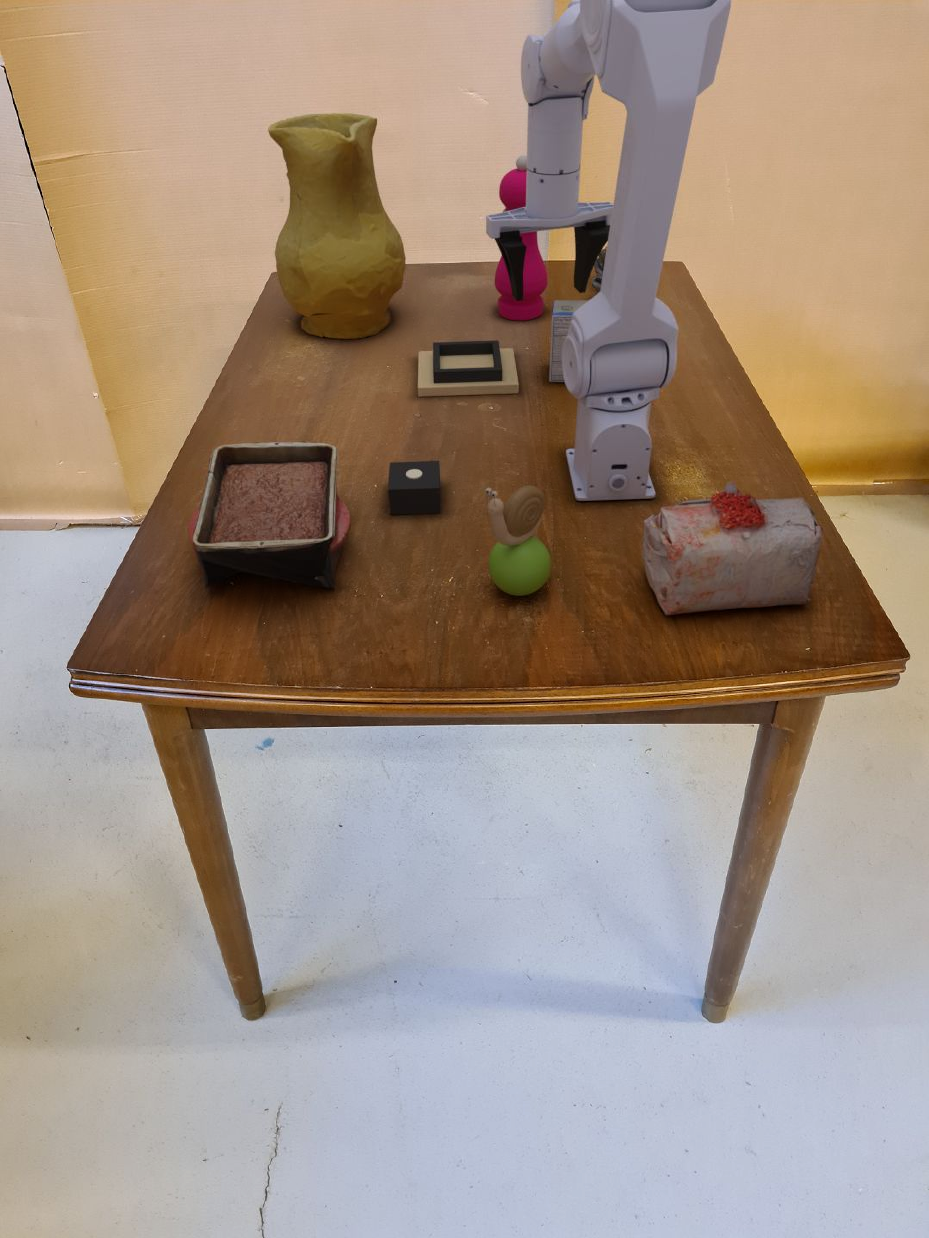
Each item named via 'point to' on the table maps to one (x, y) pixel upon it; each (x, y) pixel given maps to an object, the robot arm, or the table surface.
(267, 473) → the baking dish
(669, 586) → the food item
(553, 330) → the medicine box
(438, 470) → the black block
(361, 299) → the pitcher
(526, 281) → the pepper mill
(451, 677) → the table surface
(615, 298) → the robot arm
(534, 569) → the snail figurine
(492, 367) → the base pad
